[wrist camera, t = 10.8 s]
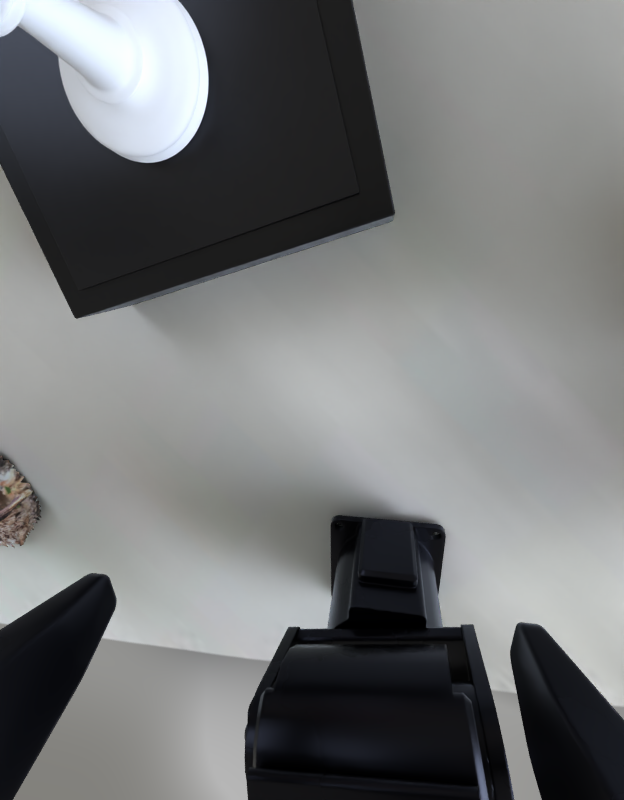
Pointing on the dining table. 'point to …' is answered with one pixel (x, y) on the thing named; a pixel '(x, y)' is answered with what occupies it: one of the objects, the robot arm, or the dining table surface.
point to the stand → (202, 158)
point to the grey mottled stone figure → (15, 506)
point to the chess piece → (123, 68)
